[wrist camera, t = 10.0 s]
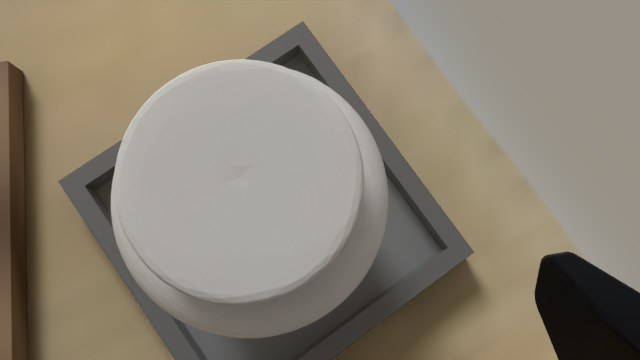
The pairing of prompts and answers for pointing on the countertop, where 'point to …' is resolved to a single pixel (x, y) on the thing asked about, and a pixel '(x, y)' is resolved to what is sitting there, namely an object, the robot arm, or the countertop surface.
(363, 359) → the countertop surface
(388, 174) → the square tray
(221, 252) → the supplement bottle
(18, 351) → the strip
